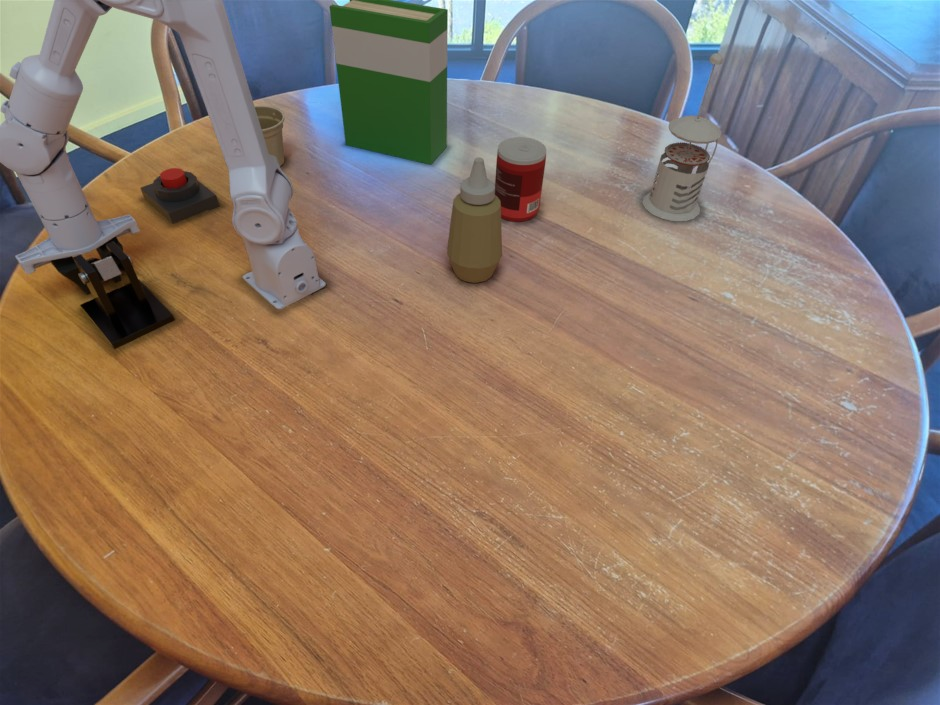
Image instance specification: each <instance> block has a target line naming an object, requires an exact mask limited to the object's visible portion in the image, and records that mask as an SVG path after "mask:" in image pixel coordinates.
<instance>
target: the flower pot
mask: <svg viewBox="0 0 940 705" xmlns="http://www.w3.org/2000/svg"><path fill="white" fill-rule="evenodd" d="M254 106H255V110H256V113H257V116H258V119H259V123H260V126H261V129H262V133H263V136H264V139H265V143H266V146H267V149H268V152H269V154H270V155H273V156H275V157H276V158H277V160H278V164H279V166H280V167H282V165H284V164H285V158H284V157H285V156H284V154H285V153H284V139H283V137H284V136H283V129H284V122H285V119H286V115H285V113H284V112H283V111H282V110H280V108H277V107H274V106H269V105H254Z"/></svg>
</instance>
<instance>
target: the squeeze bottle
mask: <svg viewBox="0 0 940 705" xmlns="http://www.w3.org/2000/svg"><path fill="white" fill-rule="evenodd" d="M484 159H485V158H483V157H475V158H474V160H473V162H472V163H473V164H472V167H471V170H470V175H469V176H468V177H467V178H465V179H463V180H462V181H461V182H460V188H459V190H460V192H459V193H458V194H456V195H455V197H454V198H453V200H452V208H451V216H450V225H449V232H448V240H447V246H446V255H447V257H448V260H449V262H450V265H451V268H452V270H453V272H454V274H455V276H456V278H458V279H460V280H461V281H463V282H467V283H482V282H486V281H488V280H489V279H491V278H492V276H493V274H494V272H495V270H496V269H497V267H498V265H499V263H500V261H501V259H502V257H503V238H502V237H503V236H502V218H501V202H500V200H499V198H498V197H497V196H496V195H495V182H493V180H491V179H489V178H488V177H487V172H486V165H485V160H484Z"/></svg>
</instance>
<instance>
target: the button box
mask: <svg viewBox="0 0 940 705" xmlns="http://www.w3.org/2000/svg"><path fill="white" fill-rule="evenodd" d="M183 171H184V173H185V176H186V179H187V183H186V184H185V185H184V186H181V187H178V188H165V187H164V186H163V183H162V180H161V178H160V175H159V176H157V177H156V178H155V179H154V180H153V182H152V183H149V184H146V185H143V186H141V187H140V191H141V194H142V196H143V198H144V200H145V201H147V203H149V204H150V205H151V206H152V207H153V208H154V209H155V210H156V211H157V212H159V213H160V214H161V215H162V216H163V217H164V218H165V219H166V220H168V222H170V223H171V224H172V225H174V224H176V223H177V224H178V223H179V222H181V221H184V220H187V219H189V218H192V217H194V216H197V215H200V214H201V213H205V212H207V211H212V210H215V209H217V208H220V203H219V200H218V197H217V194H215V193H214V192H213V191H212V190H211V189H210V188H208V187H207V186H206V185H205V184H203V183H202V182H201V181H199V180H198V177H197V176H196V175H195V174H194V173H193V172H191V171H185V170H183Z"/></svg>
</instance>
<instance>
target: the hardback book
mask: <svg viewBox="0 0 940 705" xmlns="http://www.w3.org/2000/svg"><path fill="white" fill-rule="evenodd" d="M448 13H449V10H448V9H447V8H443V7H442V8H441V7H436V6H429V5H424V4H418V3H412V2H406V1H399V0H349V1H348V2H347V3H345V4H344V5H338V4H331V5H330V4H329V14H330V23H331V24H330V25H331V31H332V32H331V33H332V40H333V49H334V58H335V66H336V74H337V82H338V92H339V100H340V108H341V115H342V116H341V117H342V124H343V125H342V126H343V133H344V140H345V141H344V142H345V143H344V144H345V146H348V147H352V148H356V149H357V148H358V149H360V150H361V149H362V150H364V151H365V150H366V151H370V152H374V153H378V154H383V155H388V156H392V157H395V158H399V159H404V160H409V161H413V162H418V163H421V164H426V165H430V166H431V165H433V163H434V162H435V161H436V160H437V158H439V157H440V155H441V154H442V153H443V152H445V150H446V148H447V145H448V138H447V137H448V35H449V34H448V33H449V32H448V26H449V24H448V21H449V20H448V16H449V14H448Z"/></svg>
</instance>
